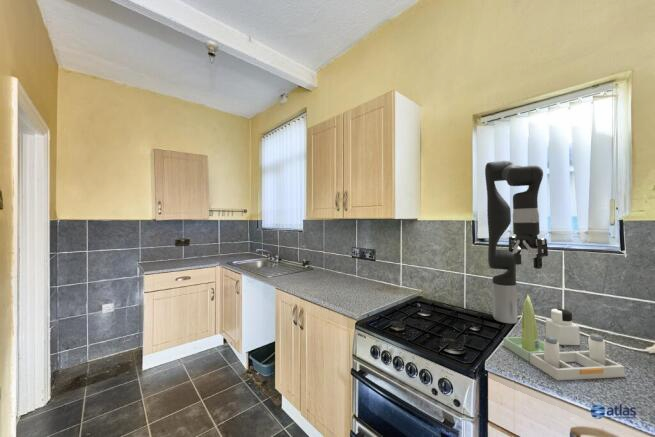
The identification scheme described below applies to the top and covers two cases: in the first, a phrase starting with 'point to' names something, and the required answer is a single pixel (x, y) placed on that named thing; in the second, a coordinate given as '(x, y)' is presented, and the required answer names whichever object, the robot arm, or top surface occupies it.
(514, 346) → the tray
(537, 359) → the holder
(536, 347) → the tube
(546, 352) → the bottle
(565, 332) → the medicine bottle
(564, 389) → the top surface
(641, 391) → the top surface
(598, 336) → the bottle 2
